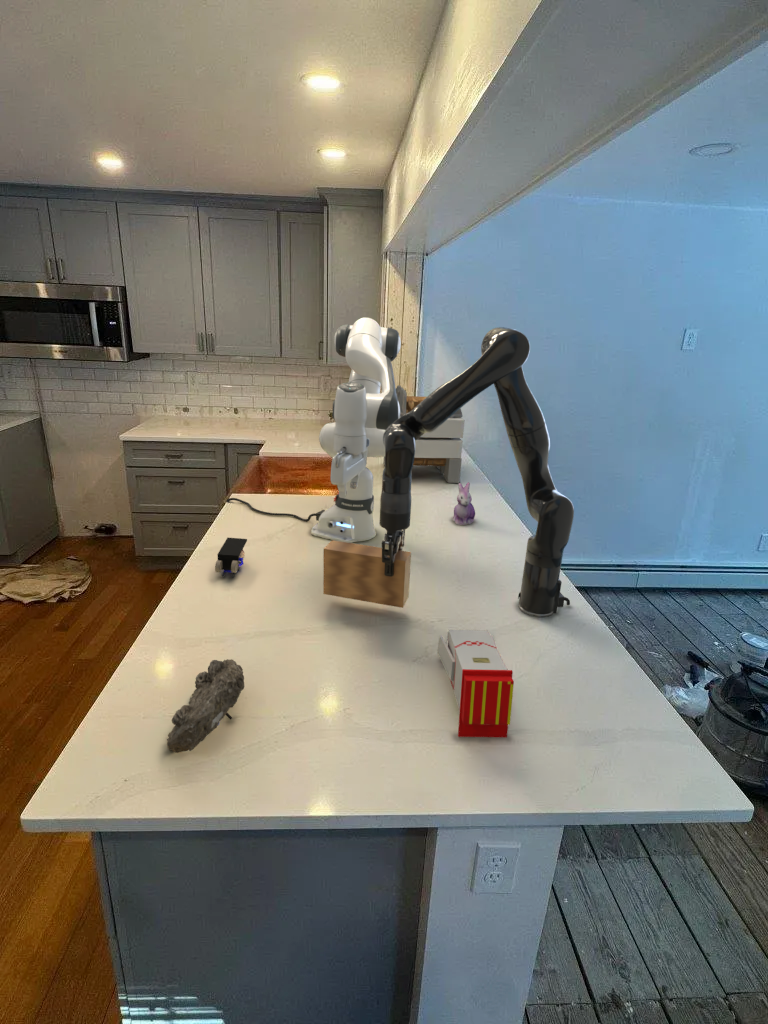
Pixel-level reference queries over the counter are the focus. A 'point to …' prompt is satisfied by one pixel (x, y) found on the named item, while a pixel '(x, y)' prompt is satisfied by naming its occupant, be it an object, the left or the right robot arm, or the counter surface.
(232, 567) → the figurine character
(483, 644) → the toy
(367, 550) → the box
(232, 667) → the fossil
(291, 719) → the counter surface
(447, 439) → the transformer
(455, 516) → the figurine
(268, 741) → the counter surface
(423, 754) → the counter surface
